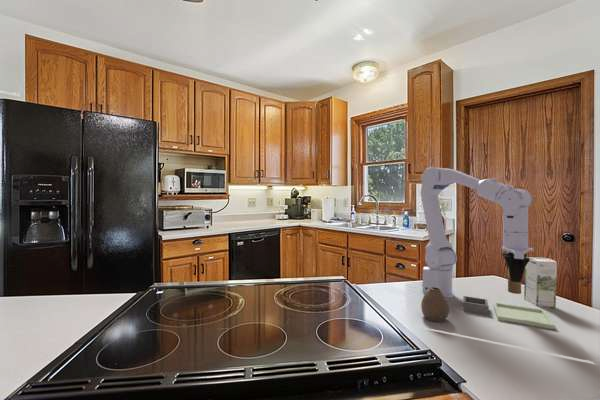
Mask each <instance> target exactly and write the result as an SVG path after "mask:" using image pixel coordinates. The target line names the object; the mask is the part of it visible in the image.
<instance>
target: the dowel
mask: <svg viewBox="0 0 600 400" xmlns="http://www.w3.org/2000/svg"><path fill="white" fill-rule="evenodd" d="M507 292H508V293H511V294H514V295H516V294H517V295H520V294H522V281H521V282H512V281H511V279H510V274H509V268H508V270H507Z"/></svg>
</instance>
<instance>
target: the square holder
mask: <svg viewBox="0 0 600 400" xmlns="http://www.w3.org/2000/svg"><path fill="white" fill-rule="evenodd" d="M462 297H463V299H462V300H463V301H462V303H463V305H462V307H463V309H462V311H463V312H468V313H469V312H470V313H473V314H481V315H485V316H486V315H487V316H489V311H490V310H489V309H490V308H489V302H488V299H487V298H480V297H474V296H468V295H467V296H466V295H463V296H462Z"/></svg>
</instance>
